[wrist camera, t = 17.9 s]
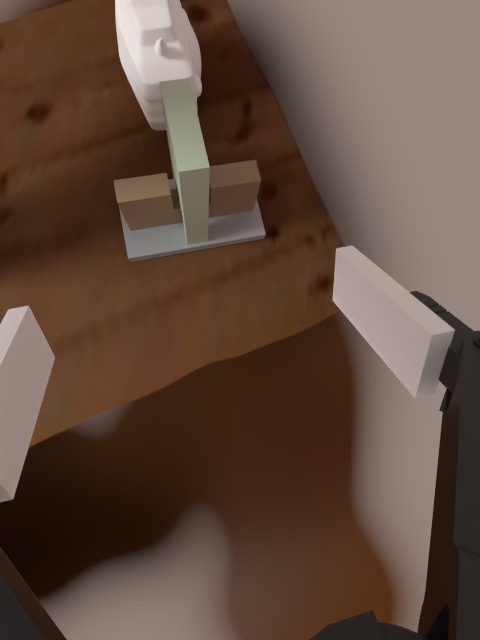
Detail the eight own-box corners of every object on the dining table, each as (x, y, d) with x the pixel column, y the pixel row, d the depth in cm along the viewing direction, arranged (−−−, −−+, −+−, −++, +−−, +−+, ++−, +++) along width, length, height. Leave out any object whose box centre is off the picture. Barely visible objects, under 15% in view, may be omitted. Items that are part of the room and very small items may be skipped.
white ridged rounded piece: (144, 152, 56) (121, 61, 40) (118, 54, 59) (86, -67, 43) (214, 139, 57) (217, 45, 42) (185, 43, 60) (178, -77, 45)
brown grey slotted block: (130, 262, 53) (114, 235, 43) (117, 193, 54) (99, 152, 45) (264, 238, 55) (276, 208, 46) (248, 173, 57) (256, 131, 48)
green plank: (187, 245, 52) (178, 171, 35) (174, 182, 54) (159, 81, 36) (208, 241, 53) (209, 167, 35) (194, 179, 54) (189, 78, 37)
